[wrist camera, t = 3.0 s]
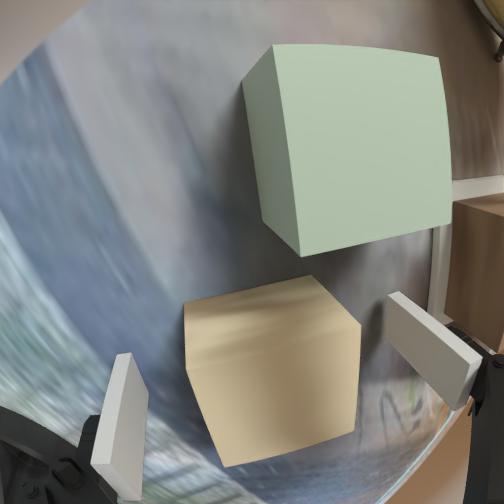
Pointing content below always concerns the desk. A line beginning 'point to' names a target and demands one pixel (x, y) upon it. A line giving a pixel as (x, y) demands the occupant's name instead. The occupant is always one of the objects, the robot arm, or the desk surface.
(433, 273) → the mat
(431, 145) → the sage brick
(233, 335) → the maple brick
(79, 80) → the desk surface
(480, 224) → the walnut brick
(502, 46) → the alarm clock
